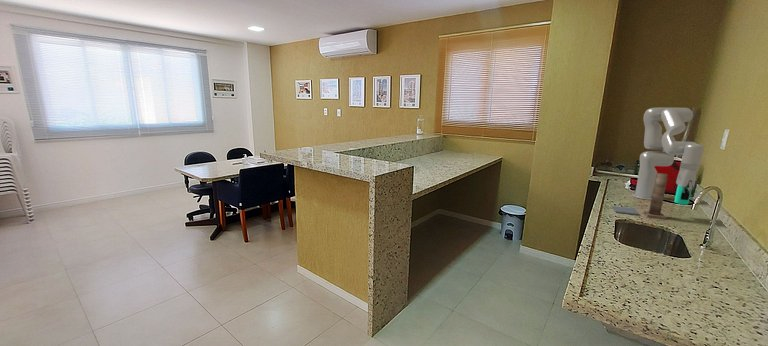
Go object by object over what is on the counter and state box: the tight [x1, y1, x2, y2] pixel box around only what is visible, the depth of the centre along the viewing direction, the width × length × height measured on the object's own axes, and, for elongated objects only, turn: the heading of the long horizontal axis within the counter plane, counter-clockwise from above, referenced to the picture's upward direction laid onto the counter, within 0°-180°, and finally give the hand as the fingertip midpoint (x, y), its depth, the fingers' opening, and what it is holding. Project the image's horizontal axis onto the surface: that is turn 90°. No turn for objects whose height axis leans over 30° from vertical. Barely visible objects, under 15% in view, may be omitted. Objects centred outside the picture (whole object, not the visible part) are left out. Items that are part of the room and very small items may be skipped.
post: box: [642, 172, 669, 220], centre depth 178 cm, size 8×8×25 cm
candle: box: [673, 184, 692, 205], centre depth 175 cm, size 6×6×12 cm
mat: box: [611, 205, 640, 216], centre depth 188 cm, size 11×11×1 cm
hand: (682, 197), depth 176 cm, fingers closed on candle, 4 cm apart
